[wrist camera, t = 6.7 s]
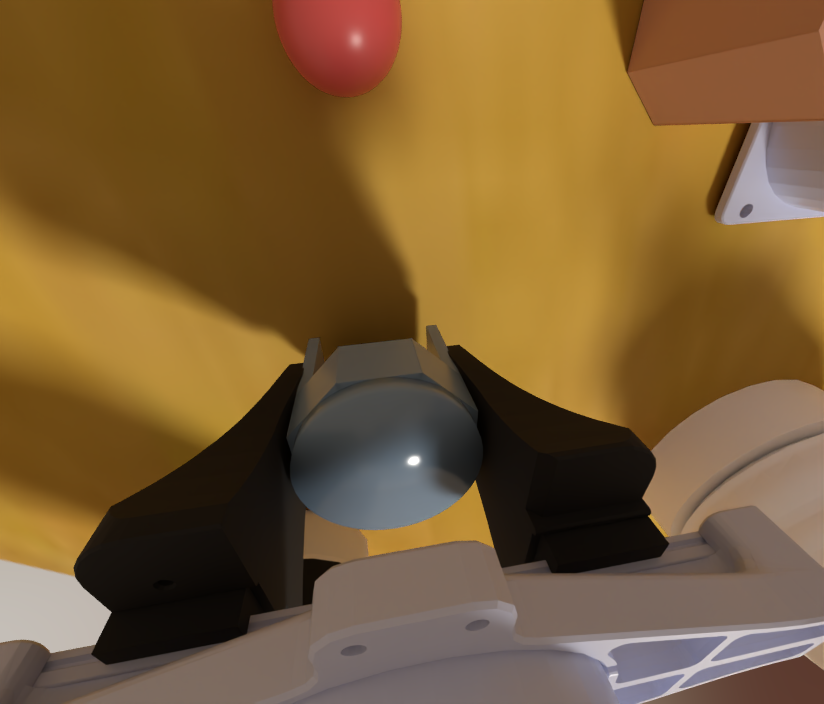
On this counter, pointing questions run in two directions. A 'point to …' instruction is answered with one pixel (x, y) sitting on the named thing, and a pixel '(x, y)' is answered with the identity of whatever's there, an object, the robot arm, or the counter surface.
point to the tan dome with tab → (730, 61)
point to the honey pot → (748, 465)
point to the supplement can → (327, 549)
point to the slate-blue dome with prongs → (383, 433)
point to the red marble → (340, 41)
